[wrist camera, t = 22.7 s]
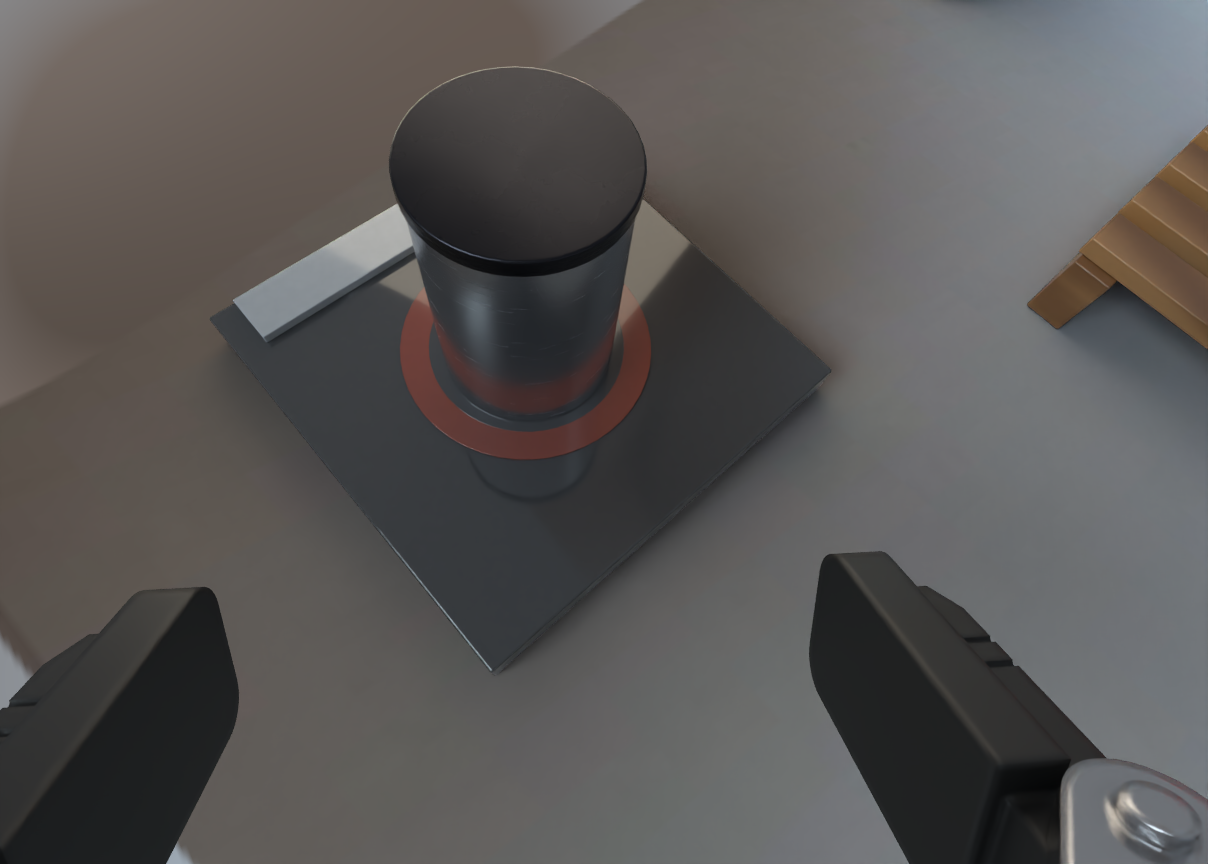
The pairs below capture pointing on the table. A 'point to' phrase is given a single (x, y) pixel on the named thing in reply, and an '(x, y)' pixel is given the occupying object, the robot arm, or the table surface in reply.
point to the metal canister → (521, 231)
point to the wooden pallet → (1147, 250)
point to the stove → (509, 447)
